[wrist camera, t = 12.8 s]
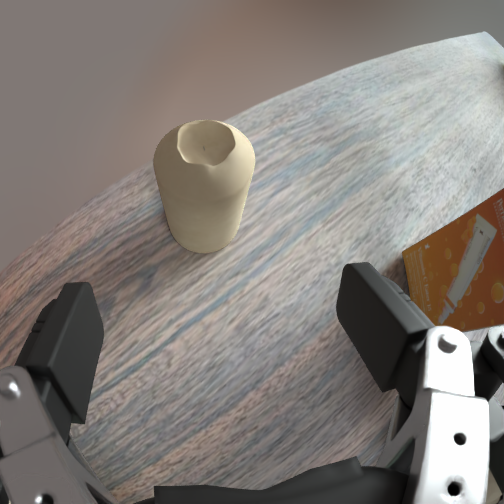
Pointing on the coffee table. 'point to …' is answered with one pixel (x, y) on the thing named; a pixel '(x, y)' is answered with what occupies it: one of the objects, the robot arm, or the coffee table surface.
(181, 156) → the candle
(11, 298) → the coffee table surface
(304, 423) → the coffee table surface
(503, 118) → the coffee table surface
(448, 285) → the small box
